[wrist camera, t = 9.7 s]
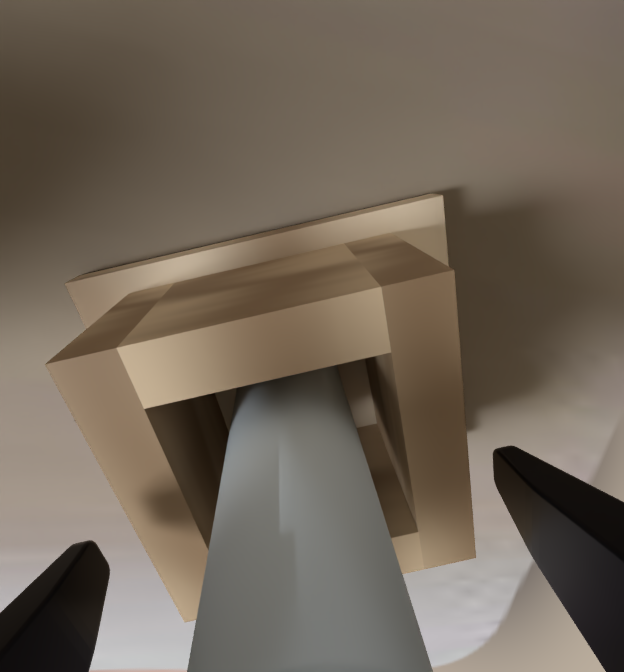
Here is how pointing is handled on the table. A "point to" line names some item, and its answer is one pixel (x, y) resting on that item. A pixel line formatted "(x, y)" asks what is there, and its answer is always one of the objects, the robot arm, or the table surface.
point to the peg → (301, 544)
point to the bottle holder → (277, 374)
